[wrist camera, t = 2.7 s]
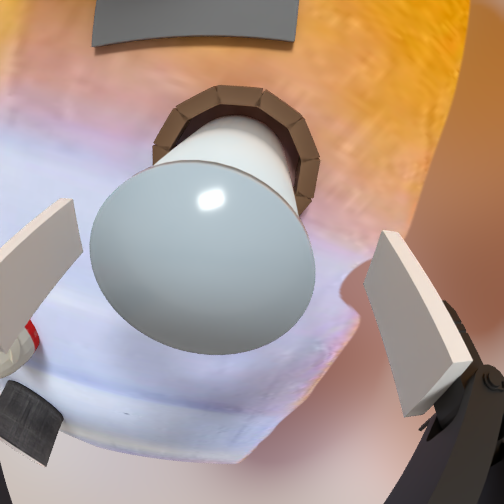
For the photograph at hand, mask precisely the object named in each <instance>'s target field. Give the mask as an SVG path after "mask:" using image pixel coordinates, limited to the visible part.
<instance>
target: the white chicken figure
mask: <svg viewBox="0 0 504 504" xmlns="http://www.w3.org/2000/svg"><path fill="white" fill-rule="evenodd" d="M38 345H39V336H38V333H37V331H36V329H35V327H34V325H33V324H32V322H31V320H29V321H28V323H27V324H26V325H25V327H24V328H23V330H22V331H21V333H20V334H19V336H18V337H17V339H16V340H15V342H14V343H13V345H12V346H11V348H10V349H9V351H8V353H7V354H5V353H3V352H1V351H0V378H4V377H6V376H9V375H10V374H12V373H14V372H15V371H16V370H18V369H19V368H20V367H21V366H22V365H24V364H25V363H26V362H27V361H28V360H29V359H30V358H31V357H32V355H33V354H34V352H35V350H36V349H37V347H38Z"/></svg>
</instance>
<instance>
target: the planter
mask: <svg viewBox="0 0 504 504" xmlns="http://www.w3.org/2000/svg"><path fill="white" fill-rule="evenodd" d="M62 421H63V417H62V415H61V414H60V413H59V411H58V410H57V409H55V408H54V407H53V406H52V405H51V404H50V403H48V402H47V401H46V400H45V399H43V398H42V397H40V396H39V395H38V394H36V393H35V392H33V391H32V390H30V389H28V388H27V387H25V386H23V385H21V384H19V383H17V382H14V381H11V380H9V381H8V382H7V384H6V386H5V388H4V390H3V392H2V394H1V396H0V440H1V441H2V442H4V443H5V444H6V445H8V446H9V447H11V448H12V449H14V450H15V451H17V452H19V453H20V454H22V455H23V456H25V457H27V458H29V459H30V460H32V461H34V462H36V463H37V464H39V465H42V466H44V467H46V466H47V463H48V460H49V457H50V454H51V451H52V448H53V445H54V442H55V439H56V436H57V434H58V431H59V428H60V426H61V423H62Z"/></svg>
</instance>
